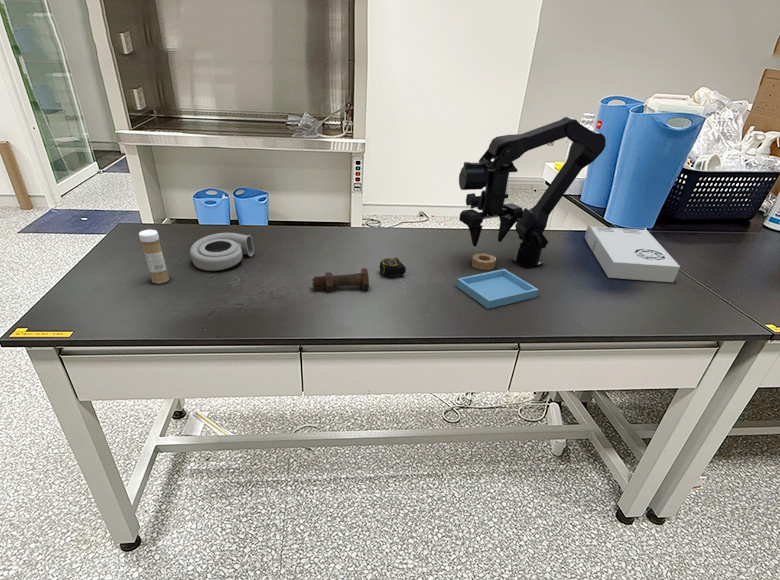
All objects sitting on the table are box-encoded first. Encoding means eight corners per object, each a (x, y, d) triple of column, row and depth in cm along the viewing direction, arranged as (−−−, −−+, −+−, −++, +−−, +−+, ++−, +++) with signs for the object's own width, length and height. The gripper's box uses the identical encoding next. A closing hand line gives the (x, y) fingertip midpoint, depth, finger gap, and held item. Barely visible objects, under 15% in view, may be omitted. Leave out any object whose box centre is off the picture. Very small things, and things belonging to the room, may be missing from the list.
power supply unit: (639, 241, 172) (644, 227, 169) (673, 282, 146) (680, 266, 143) (584, 238, 173) (588, 223, 170) (608, 278, 147) (613, 262, 144)
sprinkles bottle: (169, 276, 138) (157, 228, 130) (169, 283, 135) (157, 234, 127) (151, 278, 137) (138, 229, 129) (151, 285, 134) (138, 236, 125)
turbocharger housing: (182, 270, 144) (226, 280, 140) (176, 249, 140) (221, 258, 136) (217, 246, 156) (258, 254, 152) (213, 226, 152) (255, 234, 147)
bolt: (313, 294, 136) (367, 290, 138) (313, 293, 132) (369, 289, 133) (311, 272, 136) (366, 269, 137) (311, 270, 131) (367, 266, 132)
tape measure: (406, 277, 143) (407, 265, 141) (383, 280, 141) (384, 267, 139) (398, 268, 148) (399, 255, 146) (376, 270, 146) (376, 258, 144)
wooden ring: (485, 259, 155) (486, 252, 154) (499, 268, 150) (500, 260, 149) (467, 262, 153) (468, 255, 151) (481, 271, 148) (482, 264, 146)
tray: (503, 276, 146) (504, 268, 144) (536, 297, 136) (538, 289, 134) (456, 286, 140) (457, 278, 138) (487, 309, 130) (489, 301, 128)
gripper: (504, 177, 147) (495, 230, 156) (451, 184, 140) (445, 239, 149) (529, 188, 139) (518, 242, 149) (475, 195, 132) (467, 252, 142)
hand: (487, 243), depth 147 cm, fingers open, 9 cm apart
